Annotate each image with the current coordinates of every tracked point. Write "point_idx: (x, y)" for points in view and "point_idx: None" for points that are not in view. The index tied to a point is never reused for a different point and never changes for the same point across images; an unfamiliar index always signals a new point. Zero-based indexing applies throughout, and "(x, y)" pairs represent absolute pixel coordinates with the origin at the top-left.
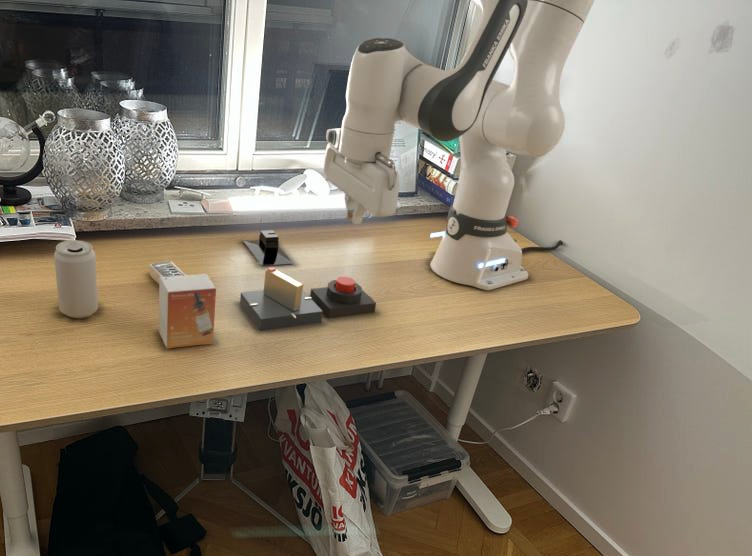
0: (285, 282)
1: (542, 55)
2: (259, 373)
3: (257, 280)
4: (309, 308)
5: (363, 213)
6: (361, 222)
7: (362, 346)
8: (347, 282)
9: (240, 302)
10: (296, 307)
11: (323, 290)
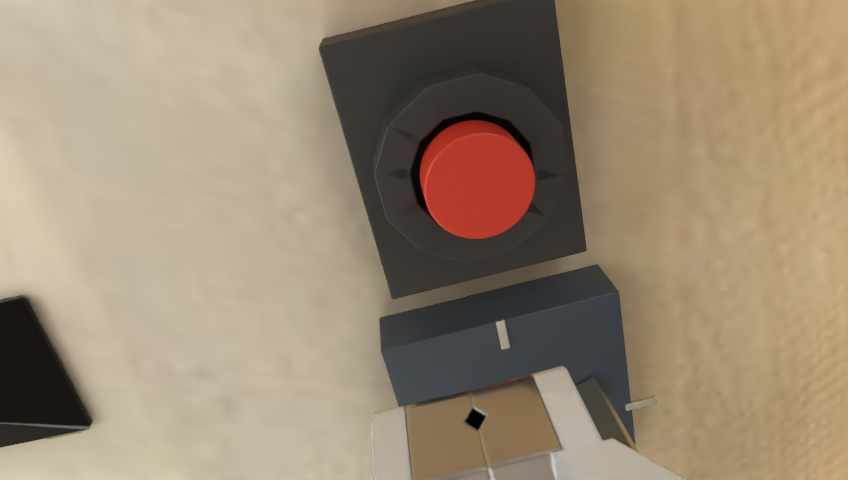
0: None
1: None
2: (836, 474)
3: (234, 446)
4: (589, 340)
5: (643, 467)
6: (567, 370)
7: (798, 136)
8: (503, 185)
9: None
10: (609, 401)
11: (407, 245)
